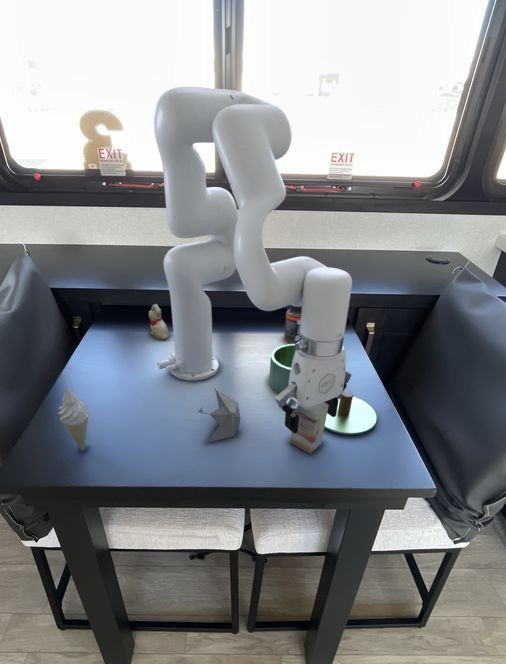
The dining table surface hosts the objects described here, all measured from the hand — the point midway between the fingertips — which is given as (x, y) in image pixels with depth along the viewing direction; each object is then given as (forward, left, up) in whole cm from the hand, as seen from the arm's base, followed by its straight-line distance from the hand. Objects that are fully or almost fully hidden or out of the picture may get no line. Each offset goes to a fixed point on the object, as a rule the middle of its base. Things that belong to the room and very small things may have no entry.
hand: (310, 421), depth 81 cm
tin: (+12, +19, -6) cm, 24 cm away
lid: (+13, +3, -5) cm, 14 cm away
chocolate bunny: (-6, +61, -6) cm, 62 cm away
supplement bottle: (+27, +38, -6) cm, 47 cm away
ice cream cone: (-39, +21, -6) cm, 45 cm away
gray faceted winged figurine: (-12, +14, -6) cm, 20 cm away
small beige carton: (0, 0, -6) cm, 6 cm away
